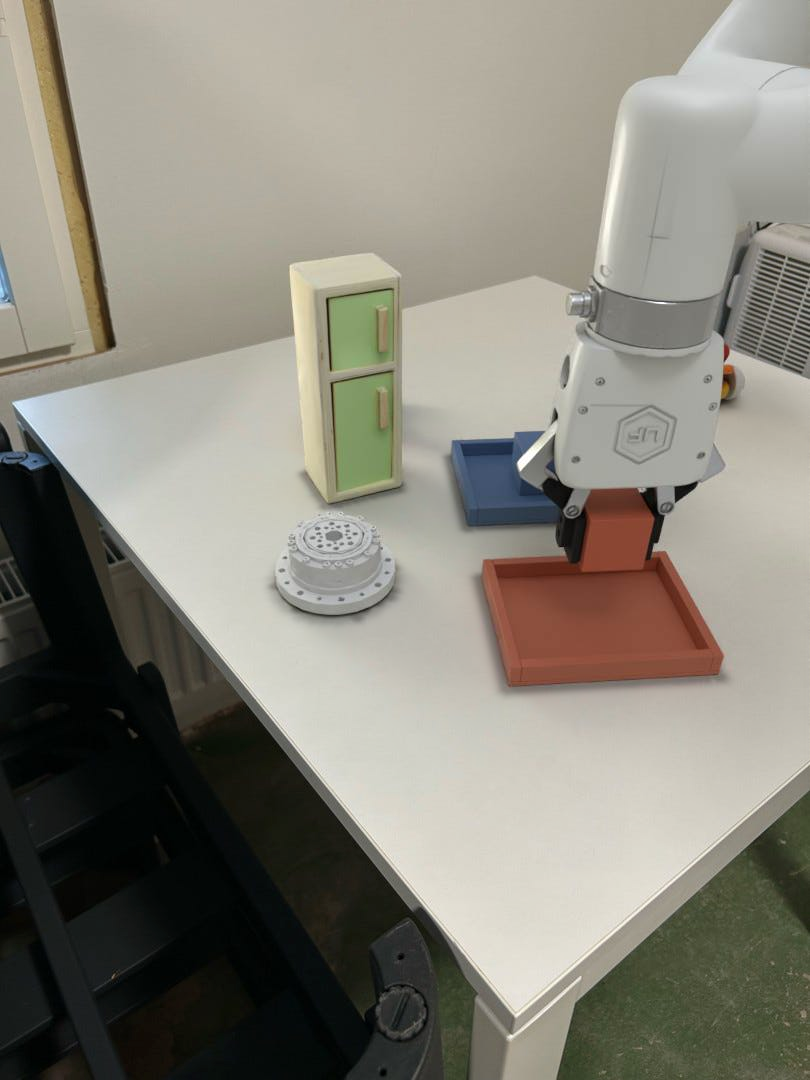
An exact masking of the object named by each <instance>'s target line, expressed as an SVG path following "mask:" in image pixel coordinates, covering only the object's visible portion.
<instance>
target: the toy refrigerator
mask: <svg viewBox="0 0 810 1080" xmlns="http://www.w3.org/2000/svg"><path fill="white" fill-rule="evenodd" d="M288 269H289V284H290V285H289V286H290V297H291V307H292V320H293V330H294V331H293V333H294V343H295V344H294V345H295V355H296V368H297V378H298V379H297V380H298V390H299V402H300V403H299V405H300V415H301V417H300V418H301V427H302V438H303V450H304V463H305V470H306V473H307V475H308V476H309V478H310V479H311V481H312V482H313V484H314V486H315V488H316V489H317V490H318V492H319V493H320V495H321V496H322V498H323V499H324V501H325V502H326V504H334V503H338V502H342V501H347V500H350V499H355V498H359V497H364V496H367V495H371V494H375V493H379V492H382V491H388V490H391V489H396V488H399V487H401V486H402V483H403V276H402V274H401V273H400V272H399V271H398V270H397V269H395V268H394V267H393V266H391V265H390V264H389V263H388V262H386V261H385V260H384V259H382V258H381V257H379V256H378V255H377V254H376V253H374V252H364V253H355V254H348V255H341V256H335V257H328V258H320V259H314V260H305V261H299V262H293V263H290V265H289V268H288Z"/></svg>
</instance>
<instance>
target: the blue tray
mask: <svg viewBox="0 0 810 1080" xmlns="http://www.w3.org/2000/svg"><path fill="white" fill-rule="evenodd" d="M450 444H451V445H450V447H451V448H450V457H451V463H452V466H453V469H454V473H455V478H456V481H457V486H458V490H459V493H460V496H461V497H460V498H461V501H462V504H463V509H464V513H465V517H466V521H467V526H468V527H473V526H475V527H476V526H497V525H500V526H501V525H519V524H520V525H521V524H544V523H545V524H547V523H557V519H558V513H559V507H558V506H557V505H556V504H555V503H554V502H553V501H552V500H550V499H549V498H548V497H547V496H546V495H521V496H520V495H519V493H518V490H517V487H516V484H515V481H514V479H513V476H512V473H511V464H512V454H513V444H514V437H505V438H502V437H501V438H481V439H480V438H474V439H472V438H471V439H452V440H451V443H450Z"/></svg>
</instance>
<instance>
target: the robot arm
mask: <svg viewBox="0 0 810 1080" xmlns="http://www.w3.org/2000/svg"><path fill="white" fill-rule="evenodd" d="M809 65H810V0H732V1H731V2H730V3H729V5H728V6H727V7H726V8H725V10H724V11H723V12H722V13H721V15H720V16H719V17H718V18H717V19H716V21H715V22H714V23H713V25H712V26H711V27H710V29H709V30H708V31H707V32H706V34H705V35H704V36H703V37H702V39H701V40H700V41H699V43H698V44H697V45H696V46H695V48H694V49H693V50H692V52H691V53H690V54H689V56H688V57H687V58H686V61H684V62H683V64H682V66H681V67H680V69H679V70H678V72H677V74H676V75H675V74H671V75H670V74H669V75H660V76H659V75H657V76H652V77H651V76H650V77H647V78H644V79H641V80H638V81H637V82H634V83H633V84H632V85H631V86H630V87H629V88H628V89H627V90H626V91H625V93H624V94H623V97H622V98H621V100H620V103H619V106H618V110H617V115H616V119H615V125H614V132H613V139H612V146H611V150H610V151H611V152H610V158H609V165H608V171H607V178H606V185H605V191H604V198H603V205H602V212H601V219H600V225H599V231H598V232H599V233H598V240H597V247H596V253H595V259H594V268H593V274H592V275H589V277H588V284H587V285H586V287H585V289H583V290H582V289H581V290H580V291H579V292H568V293H567V295H566V298H565V313H566V315H567V316H570V317H571V316H578V317H579V318H581V319H583V318H584V320H583V321H579V322H578V323H577V324H576V325H575V327H574V330H573V333H572V335H571V338H570V340H569V343H568V346H567V348H566V352H565V355H564V358H563V360H562V364H561V368H560V371H559V375H558V378H557V382H556V385H555V390H554V394H553V399H552V403H551V409H550V413H549V419H548V424H547V429H545V430H544V431H545V432H544V433H543V434H542V435H541V436H540V438H539V439H538V440H537V441H536V442H535V443H534V444H533V445H532V446H531V447H530V448H529V449H528V451H527V452H526V453H525V454H524V455H523V456H522V457H521V458H520V459H519V460H518V462H517V464H516V466H517V469H518V472H519V475H520V477H521V478H522V479H523V480H525V481H526V482H528V483H530V484H531V485H533V486H534V487H536V488H537V489H538V488H539V489H540V490H542V491H543V492H544V494H545V495H546V496H547V497H548V498H549V499H550V500H552V501H553V502H554V503H555V504H556V505H557V506H558V507H559V513H558V519H557V522H556V527H555V542H556V545H557V547H558V548H563V551H564V553H565V556H567V558H568V561H569V563H570V564H577V563H578V562H579V561H580V558H581V552H582V546H583V541H584V535H585V529H586V523H587V521H586V517H585V515H584V513H583V507H584V505H585V503H586V501H587V498H588V496H589V494H590V492H591V490H592V489H623V488H637V489H645V490H644V491H643V492H640V491H639V492H640V494H641V496H642V497H643V499H644V501H645V503H646V504H647V506H648V508H649V510H650V511H651V513H652V515H653V517H654V523H653V527H652V531H651V536H650V540H649V544H648V549H647V553H646V557H645V561H648V560H650V559H651V555H652V552H653V550H654V546H655V544H656V545H657V544H658V543H659V542H660V540H661V539H660V537H661V534H662V531H663V530H662V529H663V526H664V522H665V517H666V516H668V515H671V513H673V512H674V510H675V508H676V503H678V502H679V501H681V500H682V499H683V498H684V497H686V496H687V495H689V494H690V493H691V492H693V491H695V490H696V488H697V487H698V484H700V483H701V484H703V483H704V482H706V481H708V480H709V479H711V478H713V477H714V476H716V475H718V474H720V473H721V472H723V471H724V469H726V463H725V461H724V459H723V457H722V455H721V454H720V452H719V450H718V448H717V445H716V444H715V436H716V432H717V426H718V420H719V413H720V408H721V400H722V399H721V391H722V380H723V364H724V363H725V362H724V343H725V339H724V338H723V336H722V335H721V334H720V333H718V332H717V331H715V330H714V328H715V327H714V326H715V323H716V320H717V315H718V310H719V306H720V303H721V299H722V294H723V290H724V286H725V282H726V277H727V274H728V269H729V266H730V262H731V258H732V253H733V250H734V245H735V241H736V237H737V233H738V229H739V227H740V226H741V225H742V224H744V223H748V222H753V223H754V222H756V223H757V222H758V223H759V222H760V223H774V224H787V225H788V224H790V225H810V68H809V67H807V66H809ZM553 458H554V461H555V471H556V473H555V472H554V471H552V470H548V469H546V466H547V465H548V464H549V463H550V462H551V460H552V459H553Z"/></svg>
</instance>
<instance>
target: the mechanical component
mask: <svg viewBox="0 0 810 1080" xmlns="http://www.w3.org/2000/svg"><path fill="white" fill-rule="evenodd" d="M364 518H365V517H363V516H362V515H358V516H354V515H348V514H347V515H346V514H345V513H344V512H343V511H338V512H337V513H336V514H334V512H332V511H327V512H326V513H325V515H323V514H322V513H317V514H315V517H312V518H310V519H308V520H306V521H304V520H302V521H301V520H300V521H298V522H297V526H296V527H295V528H294V529H293V531H291V532H290V533H289V534H288V539H287V546H286V547H285V548H284V549H283V550H282V552H281V553H280V554H279V555H278V557H277V559H276V562H275V565H274V566H275V567H274V569H275V571H274V576H275V583H276V588H277V589H278V591H279V593H280V595H281V596H282V598H283V599H285V600H286V601H287V602H288V603H289V604H291V605H292V606H294V607H297V608H299V609H300V610H302V611H305V612H309V613H312V614H318V615H328V616H329V615H331V616H332V615H333V616H335V615H337V616H339V615H346V614H352V613H358V612H359V611H362V610H365V609H367V608H371V607H372V606H374V605H376V604H377V603H379V602H381V601H382V600H383V599H384V598H385V597H386V596H387V595H388V594H389V593H390V592H391V590H392V589H393V586H394V583H395V580H396V575H397V574H396V573H397V572H396V570H397V569H396V559H395V557H394V555H393V553H392V551H391V549H390V548H389V547H388V546H386V544H384V543H383V542H382V541H381V533H380V532H379V531H378V529H377V528H378V527H377V526H376V525H374V524H371V523H370V522H368V521H366V520H365V519H364Z"/></svg>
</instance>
